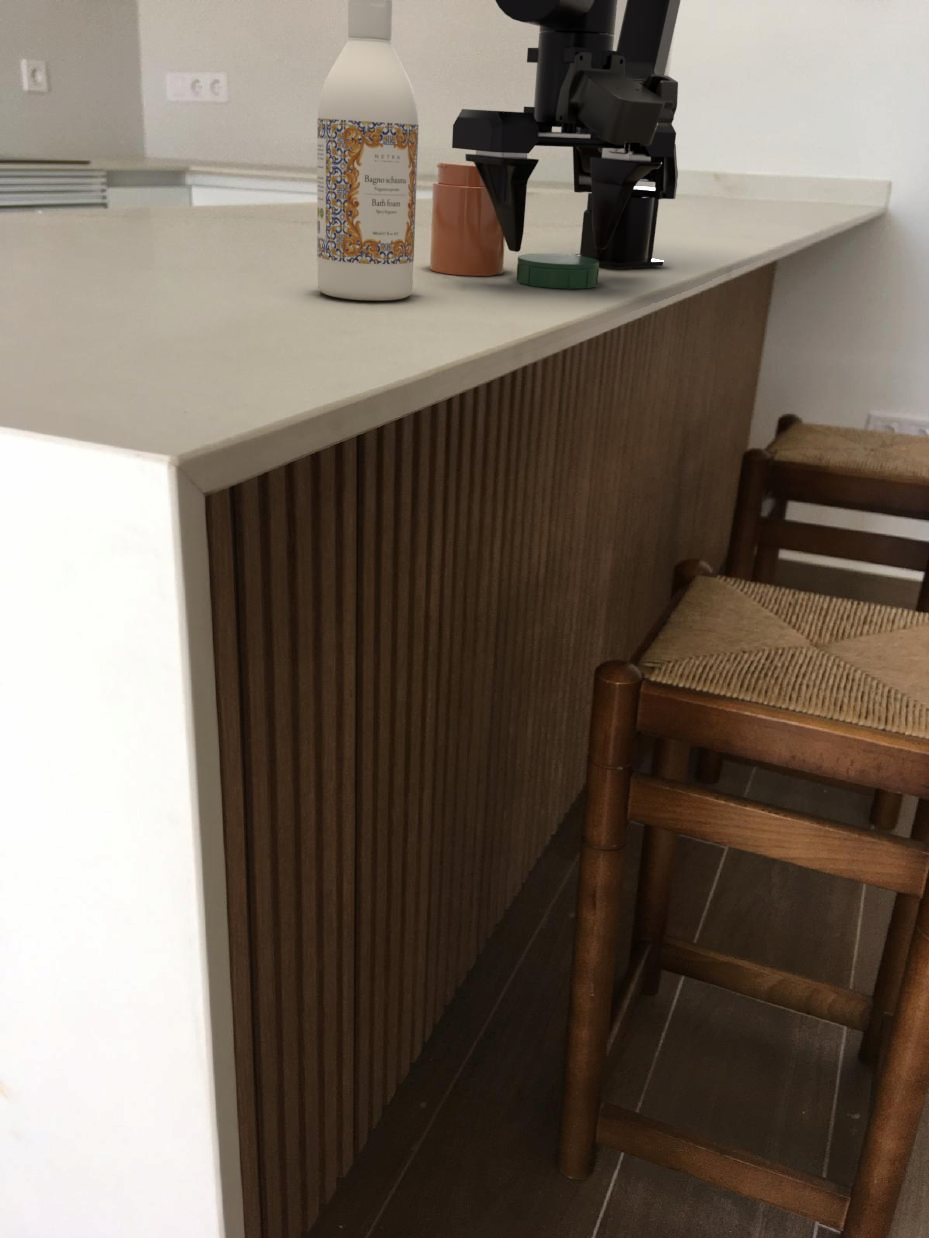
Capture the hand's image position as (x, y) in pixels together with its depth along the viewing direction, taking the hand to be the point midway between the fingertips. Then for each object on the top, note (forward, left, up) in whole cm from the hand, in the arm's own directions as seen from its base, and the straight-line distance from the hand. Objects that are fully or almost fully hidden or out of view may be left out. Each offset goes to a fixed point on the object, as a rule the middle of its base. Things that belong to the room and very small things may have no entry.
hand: (558, 249), depth 88 cm
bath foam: (+19, +1, -3) cm, 19 cm away
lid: (0, 0, -1) cm, 1 cm away
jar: (+4, -8, -3) cm, 9 cm away
